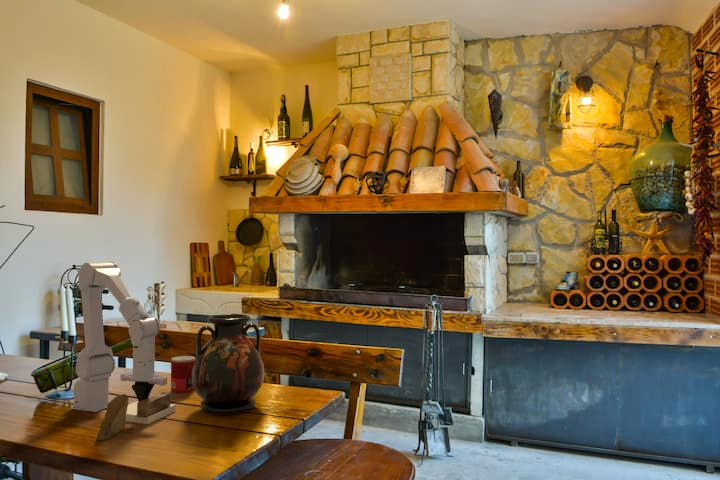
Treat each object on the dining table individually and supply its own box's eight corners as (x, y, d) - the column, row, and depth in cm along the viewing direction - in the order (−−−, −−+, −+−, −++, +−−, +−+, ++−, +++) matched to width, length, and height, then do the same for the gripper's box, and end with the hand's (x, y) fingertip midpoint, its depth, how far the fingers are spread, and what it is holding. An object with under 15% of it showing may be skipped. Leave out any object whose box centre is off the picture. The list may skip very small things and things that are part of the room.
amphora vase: (196, 423, 151) (197, 323, 151) (187, 402, 170) (188, 313, 171) (272, 414, 160) (272, 319, 160) (255, 395, 179) (255, 310, 179)
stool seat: (108, 419, 153) (108, 412, 154) (139, 406, 166) (139, 400, 166) (146, 424, 149) (146, 417, 149) (175, 411, 162) (175, 404, 162)
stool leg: (164, 403, 162) (164, 391, 162) (172, 403, 161) (172, 392, 161) (137, 415, 151) (137, 402, 151) (146, 416, 150) (146, 403, 150)
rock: (107, 435, 135) (141, 419, 143) (91, 405, 137) (126, 391, 145) (89, 453, 140) (123, 436, 148) (74, 424, 142) (108, 409, 150)
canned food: (191, 393, 180) (191, 360, 180) (167, 393, 180) (167, 360, 181) (198, 387, 188) (198, 355, 188) (175, 387, 188) (175, 355, 188)
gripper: (174, 359, 156) (173, 406, 156) (132, 355, 160) (132, 401, 160) (158, 364, 149) (157, 414, 149) (115, 360, 154) (114, 408, 154)
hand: (143, 408), depth 154 cm, fingers closed
